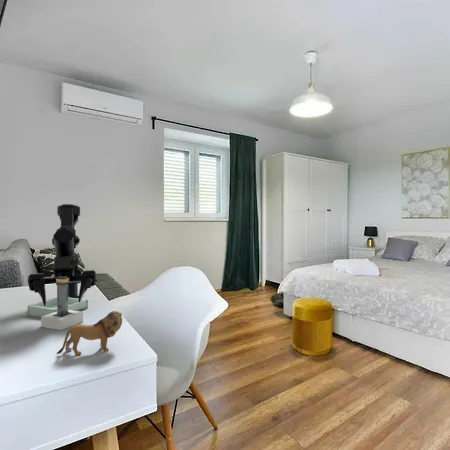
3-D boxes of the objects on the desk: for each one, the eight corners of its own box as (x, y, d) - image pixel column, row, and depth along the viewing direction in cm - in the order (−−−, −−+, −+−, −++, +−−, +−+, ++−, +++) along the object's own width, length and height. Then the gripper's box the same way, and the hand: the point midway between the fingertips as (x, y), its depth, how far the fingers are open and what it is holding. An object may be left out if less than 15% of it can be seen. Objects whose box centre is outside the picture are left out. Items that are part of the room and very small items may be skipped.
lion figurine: (120, 341, 78) (121, 307, 78) (123, 349, 73) (123, 313, 73) (57, 352, 71) (57, 315, 71) (55, 361, 67) (55, 321, 66)
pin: (63, 321, 93) (63, 277, 92) (72, 322, 91) (72, 277, 91) (53, 325, 89) (53, 279, 89) (62, 326, 88) (62, 280, 88)
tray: (60, 304, 111) (60, 296, 111) (87, 308, 107) (87, 299, 107) (27, 314, 99) (27, 305, 99) (56, 319, 94) (56, 309, 94)
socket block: (63, 318, 95) (63, 309, 95) (83, 321, 93) (83, 311, 93) (41, 326, 88) (41, 316, 88) (61, 330, 85) (61, 319, 85)
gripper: (28, 247, 90) (21, 291, 80) (95, 245, 98) (96, 285, 88) (33, 269, 97) (26, 312, 87) (94, 266, 105) (95, 305, 95)
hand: (62, 303), depth 89 cm, fingers open, 9 cm apart
